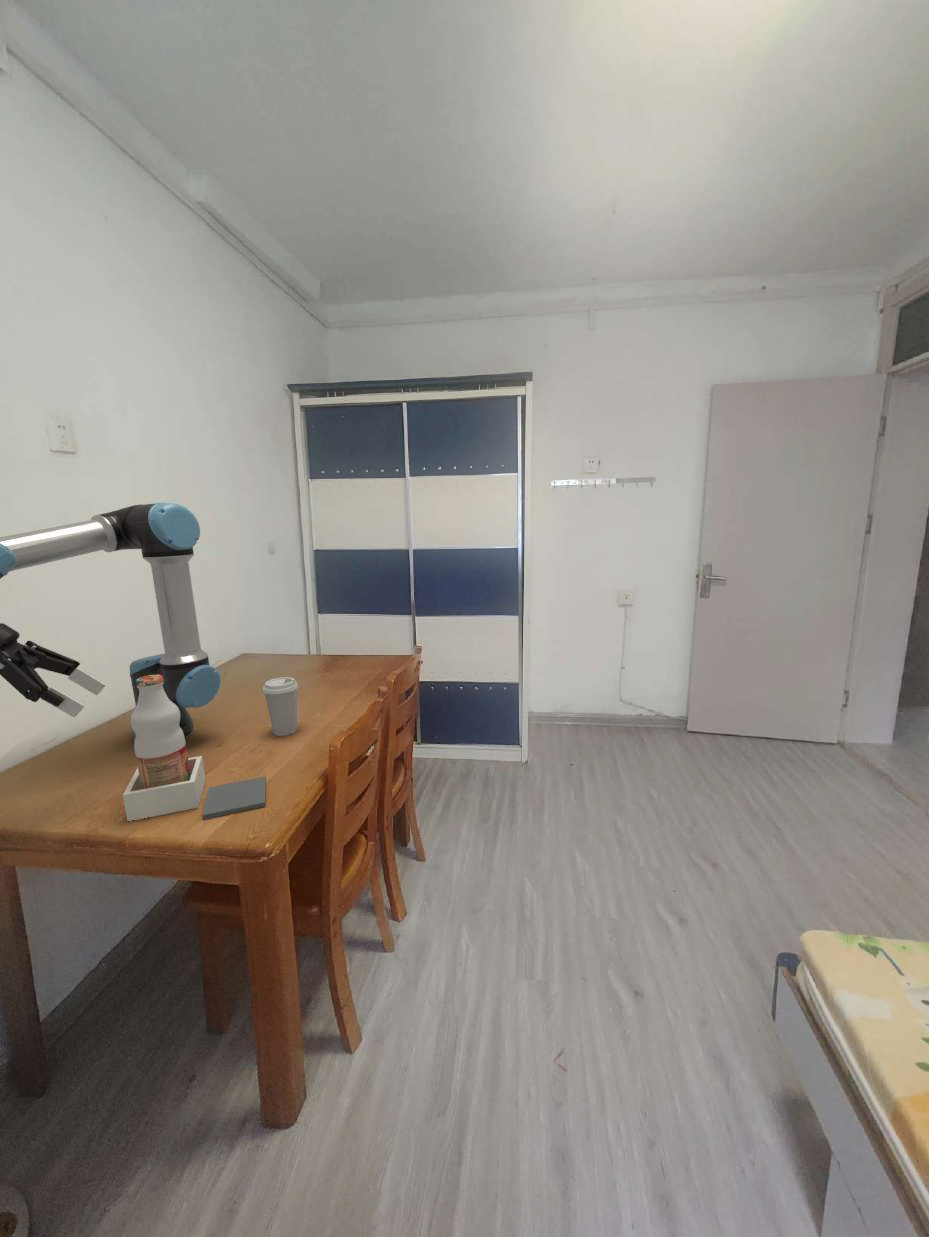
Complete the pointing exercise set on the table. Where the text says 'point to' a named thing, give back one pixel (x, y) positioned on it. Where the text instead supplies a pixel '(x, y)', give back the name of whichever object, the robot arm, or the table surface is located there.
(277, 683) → the coffee cup
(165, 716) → the fruit juice
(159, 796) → the frame
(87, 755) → the table surface
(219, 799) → the mat
